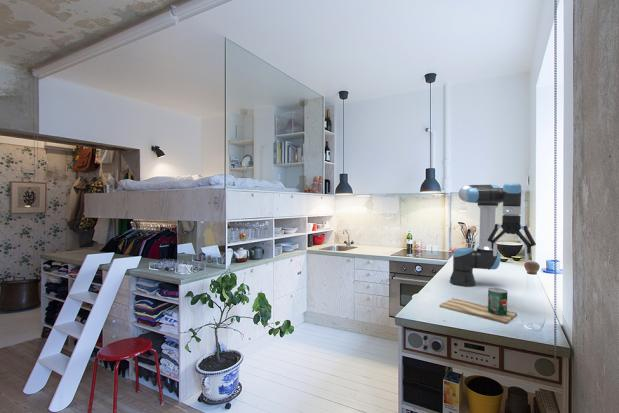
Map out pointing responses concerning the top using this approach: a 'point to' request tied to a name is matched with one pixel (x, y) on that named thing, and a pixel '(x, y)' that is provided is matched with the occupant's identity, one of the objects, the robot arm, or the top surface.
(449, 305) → the board
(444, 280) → the top surface
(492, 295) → the canned tomato
